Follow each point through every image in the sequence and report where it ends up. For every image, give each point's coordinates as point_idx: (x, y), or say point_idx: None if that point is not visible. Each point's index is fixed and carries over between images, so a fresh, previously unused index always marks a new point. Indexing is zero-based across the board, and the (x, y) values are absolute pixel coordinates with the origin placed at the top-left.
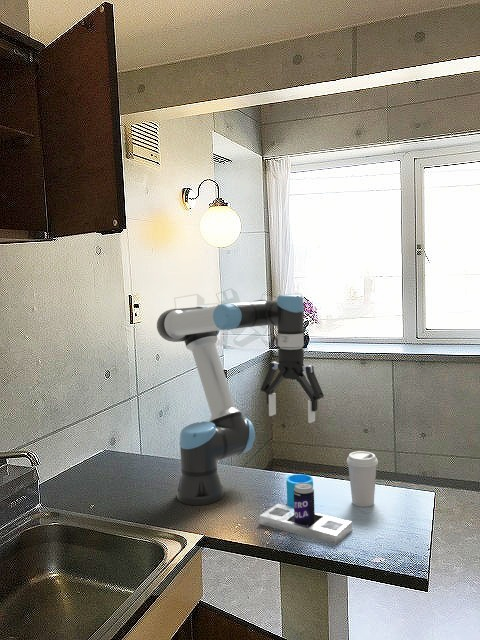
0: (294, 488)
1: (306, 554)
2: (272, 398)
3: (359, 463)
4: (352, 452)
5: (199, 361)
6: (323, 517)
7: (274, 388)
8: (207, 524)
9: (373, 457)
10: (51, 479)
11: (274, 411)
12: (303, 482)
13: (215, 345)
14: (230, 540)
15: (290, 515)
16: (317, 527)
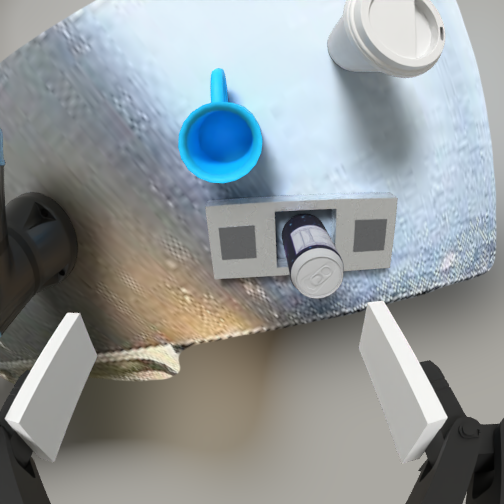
0: (296, 287)
1: (351, 309)
2: (53, 427)
3: (414, 73)
4: (363, 4)
5: None
6: (339, 212)
7: (30, 484)
8: (143, 317)
9: (444, 34)
10: None
11: (78, 341)
12: (248, 161)
13: None
14: (218, 338)
15: (270, 243)
16: (348, 259)
